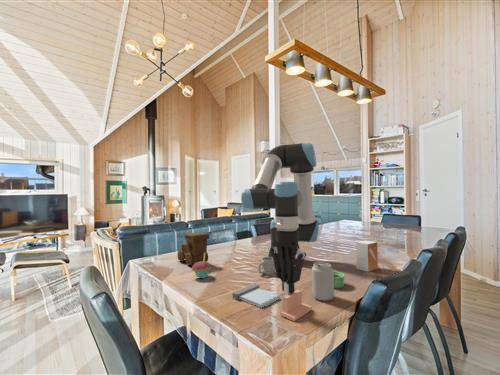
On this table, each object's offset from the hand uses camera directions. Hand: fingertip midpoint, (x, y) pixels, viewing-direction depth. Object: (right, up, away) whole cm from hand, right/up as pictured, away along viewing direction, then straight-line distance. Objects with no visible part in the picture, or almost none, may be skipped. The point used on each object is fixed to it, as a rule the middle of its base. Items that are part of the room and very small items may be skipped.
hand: (288, 301), depth 82 cm
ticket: (-10, -3, +10) cm, 14 cm away
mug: (-5, -4, +37) cm, 38 cm away
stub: (+2, -2, -2) cm, 4 cm away
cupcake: (-35, -4, +34) cm, 48 cm away
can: (+14, -3, +9) cm, 17 cm away
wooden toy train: (-44, -5, +58) cm, 73 cm away
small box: (+44, -3, +41) cm, 60 cm away
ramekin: (+21, -3, +21) cm, 30 cm away
